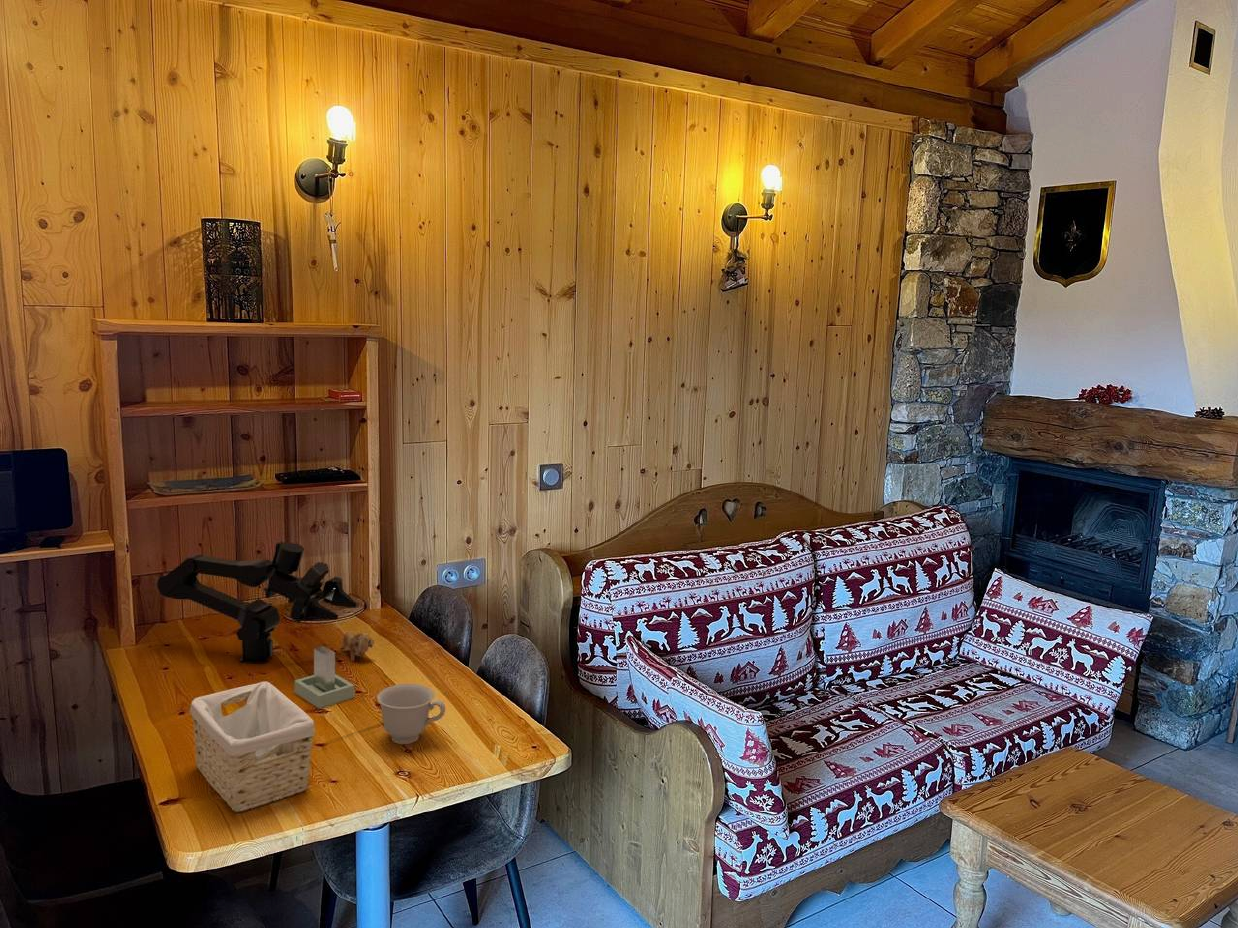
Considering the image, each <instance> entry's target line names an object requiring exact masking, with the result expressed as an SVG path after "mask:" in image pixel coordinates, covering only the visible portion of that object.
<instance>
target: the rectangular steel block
mask: <svg viewBox="0 0 1238 928" xmlns="http://www.w3.org/2000/svg"><path fill="white" fill-rule="evenodd" d="M335 674H336V652H335V651H333V650H331V649H330V648H328V647H326V646H324V645H322V646H319V647H316V648H315V647H314V648H313V675H314V687H316V688H318V689H319V690H321V691H322V692H327V691H331V690H334V689H335Z"/></svg>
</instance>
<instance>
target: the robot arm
mask: <svg viewBox="0 0 1238 928" xmlns="http://www.w3.org/2000/svg"><path fill="white" fill-rule="evenodd" d="M274 549H275V550H274V554H273V557H272V560H270V559H267V558H262V559H261V558H259V559H257V558H256V559H250V560H234V559H233V560H232V559H229V558H227V559H226V558H221V557H213V556H207V555H206V556H205V555H203V554H194V555H192V556H189V557H187V558H185V559H184V560H183V561H182V562H181V563H180V564H179V565H178V566H176V567H175V568H173V569H172V570H171V571H169V572H168V573H166V574H164V575H162V576H159V578H158V580H157V582H156V587H157V589H158V593H159V594H160V595H161V596H162V597H165V598H168V599H173V600H188V601H192V602H194V603H196V604H199V605H202V606H204V607H206V608H208V609H211V610H213V611H216V612H218V613H220V614H222V615H224V616H226V617H228V618H232V619H233V620H236V621H237V623H238V624H239V625H240V628H239V629H238V630H236V633H235V634H236V637H237V639H238V641H241V643H242V644H241V651H242V652H241V653H242V655H241V656H242V658H241V659H240V660H239V662H240V663H248V664H249V663H255V664H258V663H259V664H264V663H267V662H268V661H269V660H270V658H271V657H272V656H273V654H274V642H273V639H272V637H271V635H272V634H271V633H272V632H274V631H275V628H276V627H277V625H279V623H280V619H281V616H280V613H279V610H278V609H277V608H276V607H275V606H273V603H269V602H266V601H265V600H263V599H260V598H257V599H256V600H253V601H252V602H245V601H244V600H242V599H239V598H236V597H234V596H232V595H229V594H226V593H225V592H221V591H220V590H217V589H215V588H212V587H210V586H208V585H205V584H203V583H202V582H200V581H199V579H198V576H199V575H200V574H202V575H208V576H214V577H223V578H228V579H233V580H236V581H238V583H240V584H242V585H244V586H247V587H250V588H257V587H259V586H262V585H264V584H265V583H267V586H266V587H264V588H263V591H264V593H265V597H266V599H270V598H271V597H274V596H275V595H279V596H280V597H281V596H282V597H284V598H285V599H288V601H287V602H288V603H289V604H292V608H291V611H290V613H289V614H290V618H291V619H292V621H294V622H297V623H300V622H301V623H302V622H309V621H331V620H338V619H339V614H337V613H335V612H334V611H333V610H331V609H329V608H327V607H325V606H324V605H322V604H320V603H321V602H323V603H326V604H330V606H334V607H335V606H336V607H337V606H338V607H343V608H355V609H356V608H357V607H358V606H357V605H358V604H357V602H356V601H355V600H354V599H353V598H352V597H351V596H349V595H348V594H347V593H346V592H345V590H344V589H343V586H344V585H343V581H344V580H343V579H342V578H341V577H338V576H334V577H332V578H329V579H328V580H327V581H325V582H323V581H322V580H323V579H324V577H325V576H326V575H327V574H329V573H330V570H329V566H328V563H325V562H323V561H318V562H315V563H314V564H313V565H312V566H311V567H310V568H309V569H308V571H306V573H305V575H303V576H302V577H299V576H296V575H294V573H296V572H298V571H299V569H300V566H301V562H302V558H303V554H304V551H305V548H304V546H303V545H302V544H299V543H298V542H297V543H293V542H285V541H280V542H277V543H275V548H274ZM323 584H324V585H323ZM322 586H323V589H321V588H322Z"/></svg>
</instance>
